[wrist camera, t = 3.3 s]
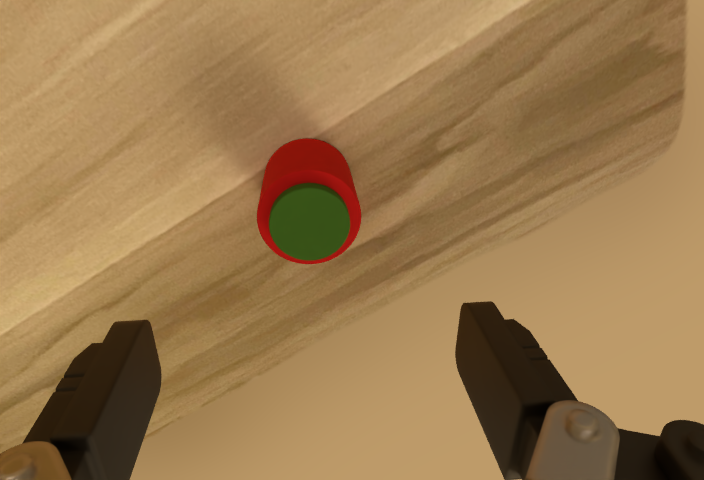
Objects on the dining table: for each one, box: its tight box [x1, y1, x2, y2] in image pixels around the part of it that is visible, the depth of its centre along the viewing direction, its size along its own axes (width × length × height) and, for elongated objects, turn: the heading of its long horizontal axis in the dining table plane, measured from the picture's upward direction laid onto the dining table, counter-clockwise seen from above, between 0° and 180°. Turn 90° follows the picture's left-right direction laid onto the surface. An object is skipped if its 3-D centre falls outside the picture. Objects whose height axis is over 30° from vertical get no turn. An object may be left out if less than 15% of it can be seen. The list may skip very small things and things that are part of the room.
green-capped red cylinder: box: [257, 138, 361, 264], centre depth 21 cm, size 4×4×5 cm
